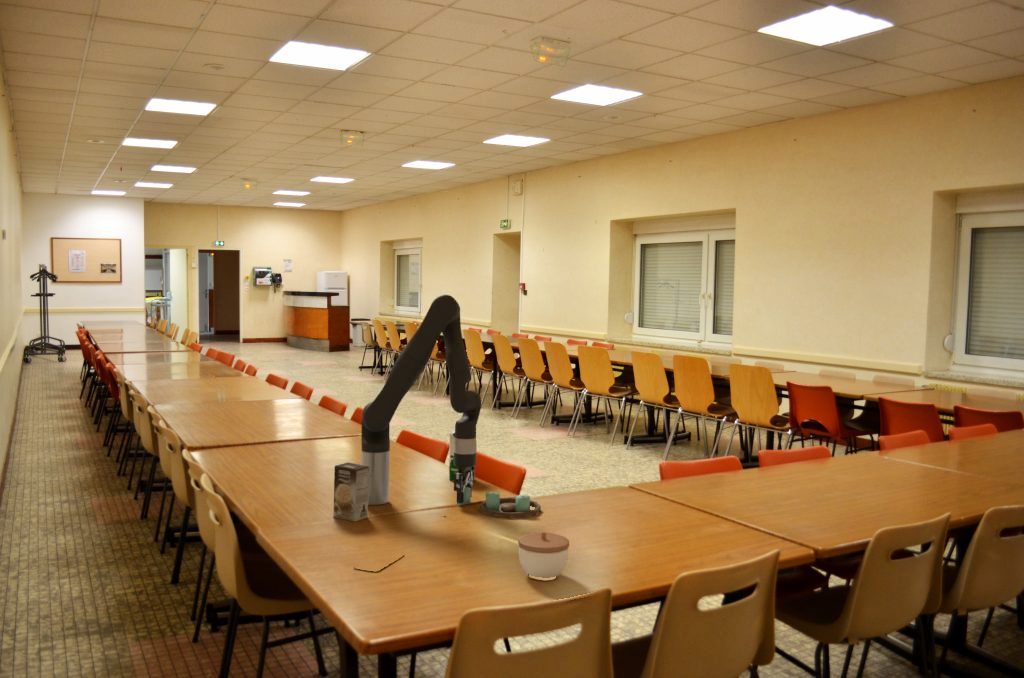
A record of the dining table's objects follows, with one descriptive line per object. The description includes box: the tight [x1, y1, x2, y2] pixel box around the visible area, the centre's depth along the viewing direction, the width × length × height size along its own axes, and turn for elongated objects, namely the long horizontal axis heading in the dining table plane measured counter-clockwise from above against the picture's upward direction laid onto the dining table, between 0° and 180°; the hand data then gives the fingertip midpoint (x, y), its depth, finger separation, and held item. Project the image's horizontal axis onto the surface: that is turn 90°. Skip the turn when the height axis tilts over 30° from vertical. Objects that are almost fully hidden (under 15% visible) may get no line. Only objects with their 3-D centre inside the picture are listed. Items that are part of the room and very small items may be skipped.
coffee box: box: [333, 462, 369, 522], centre depth 238 cm, size 9×6×16 cm
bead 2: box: [485, 491, 501, 511], centre depth 247 cm, size 4×4×6 cm
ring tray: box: [478, 497, 542, 519], centre depth 248 cm, size 19×19×3 cm
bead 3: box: [515, 494, 531, 512], centre depth 244 cm, size 4×4×6 cm
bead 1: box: [456, 486, 472, 507], centre depth 257 cm, size 4×4×6 cm
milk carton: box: [448, 430, 458, 482], centre depth 293 cm, size 9×9×20 cm
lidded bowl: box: [517, 531, 570, 578], centre depth 191 cm, size 13×13×11 cm
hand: (464, 500), depth 257 cm, fingers open, 7 cm apart
